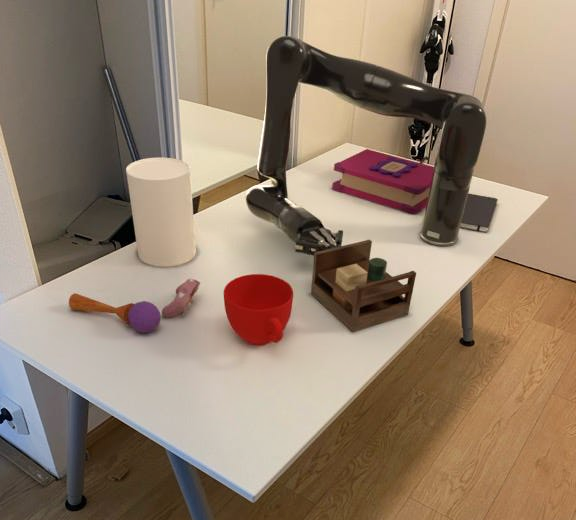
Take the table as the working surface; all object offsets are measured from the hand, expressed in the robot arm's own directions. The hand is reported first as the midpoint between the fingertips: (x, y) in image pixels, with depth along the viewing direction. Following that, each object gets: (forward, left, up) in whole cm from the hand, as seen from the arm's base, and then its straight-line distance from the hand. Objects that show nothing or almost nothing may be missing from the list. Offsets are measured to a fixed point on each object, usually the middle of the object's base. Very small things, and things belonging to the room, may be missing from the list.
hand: (341, 257), depth 125 cm
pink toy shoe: (+26, -23, -7) cm, 35 cm away
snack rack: (+4, +7, -7) cm, 11 cm away
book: (-58, -12, -7) cm, 60 cm away
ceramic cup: (+27, -3, -7) cm, 28 cm away
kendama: (+37, -31, -7) cm, 49 cm away
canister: (+9, -41, -7) cm, 43 cm away
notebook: (-56, +13, -7) cm, 58 cm away
